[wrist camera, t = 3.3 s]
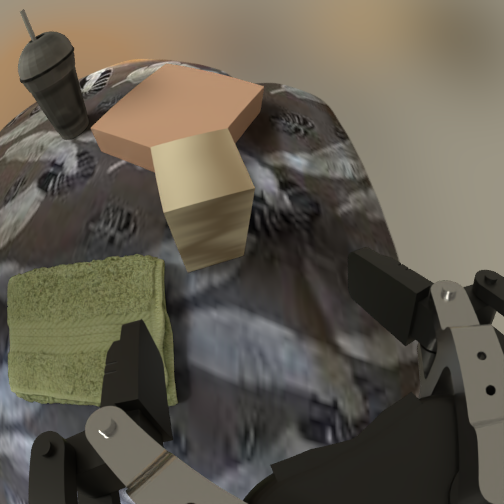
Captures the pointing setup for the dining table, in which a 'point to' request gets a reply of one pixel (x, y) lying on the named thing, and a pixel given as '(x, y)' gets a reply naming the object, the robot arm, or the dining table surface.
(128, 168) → the dining table surface
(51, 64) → the beverage cup
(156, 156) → the birch block
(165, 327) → the washcloth
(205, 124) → the terracotta plinth
